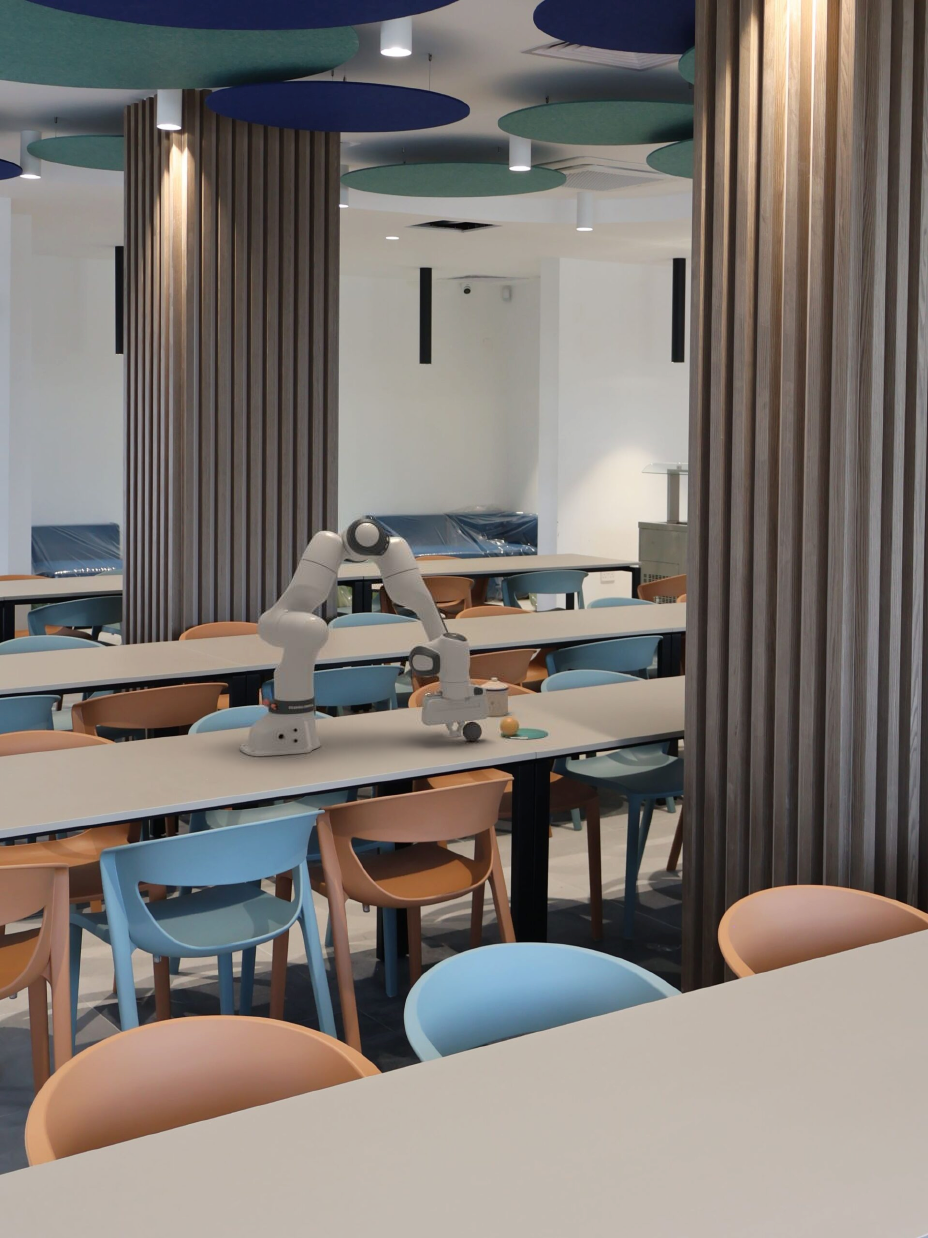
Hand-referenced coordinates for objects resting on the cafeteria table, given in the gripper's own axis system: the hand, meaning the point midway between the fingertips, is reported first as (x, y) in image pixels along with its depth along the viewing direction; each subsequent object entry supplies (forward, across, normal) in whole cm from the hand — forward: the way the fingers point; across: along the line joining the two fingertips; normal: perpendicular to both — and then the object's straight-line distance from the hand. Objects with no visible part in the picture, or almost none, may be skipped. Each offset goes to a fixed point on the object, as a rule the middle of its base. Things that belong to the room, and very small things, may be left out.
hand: (455, 737), depth 366 cm
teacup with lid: (+2, +28, +30) cm, 41 cm away
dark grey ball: (-1, +5, 0) cm, 6 cm away
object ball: (-1, +18, 0) cm, 18 cm away
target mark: (+2, +23, 0) cm, 23 cm away
